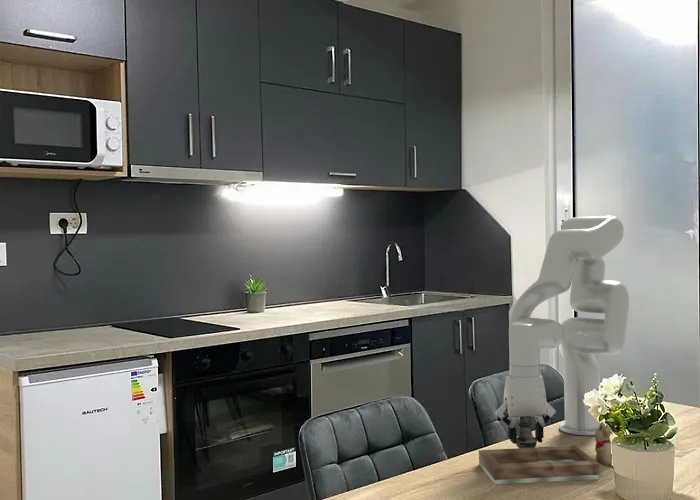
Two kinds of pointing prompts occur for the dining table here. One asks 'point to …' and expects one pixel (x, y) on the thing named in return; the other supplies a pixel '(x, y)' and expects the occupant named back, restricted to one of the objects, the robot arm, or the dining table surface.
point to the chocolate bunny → (603, 445)
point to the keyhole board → (538, 465)
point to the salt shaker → (526, 434)
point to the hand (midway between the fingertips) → (526, 441)
